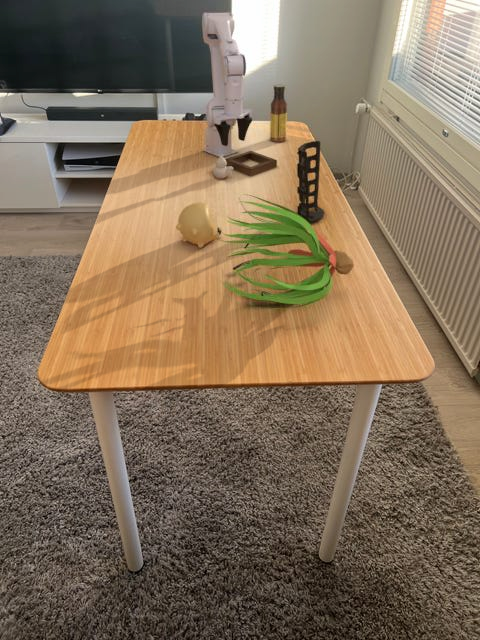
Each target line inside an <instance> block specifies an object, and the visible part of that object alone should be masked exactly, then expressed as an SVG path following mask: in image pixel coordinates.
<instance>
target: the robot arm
mask: <svg viewBox="0 0 480 640" xmlns="http://www.w3.org/2000/svg"><path fill="white" fill-rule="evenodd" d="M201 16H202V17H201V26H202V27H201V28H202V39H203V43H205V44H206V45H208V47H209V48H208V49H209V51H210V52H209V53H210V62H211V64H210V65H211V77H212V90H213V91H212V93H213V98H211V100H210V101H208V103H207V104H206V113H205V114H206V116H205V117H206V125H207V127H206V129H205V133H204V136H205V137H204V139H205V142H204V143H205V144H204V145H205V148H204V149H203V151H204V152H206V153H207V154H210V155H213V156H216V157H218V158H219V157H220V154H221V156H223V157H224V158H225V157H226V156H230V155H233V154H236V153H237V150H234V149H232V130H233V128H234V127H235V126H236V124H237V136H238V140H239V141H241V142H245V139H246V136H247V134H248V133H247V132H248V130H249V127H250V125H251V124H252V122H253V118H252V115H253V109H251V108H244V77H245V76H246V72H247V62H246V56H245V54H243V53H241V52H240V49H239V46H238V43H237V41H236V40H235V39H234V38H233V36H234V35H233V34H234V31H235V16H234V14H233V12H232V11H229V12H207V11H206V12H203V14H202V15H201Z"/></svg>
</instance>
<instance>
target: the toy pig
mask: <svg viewBox="0 0 480 640" xmlns="http://www.w3.org/2000/svg"><path fill="white" fill-rule="evenodd" d="M177 222H178V223H177V224H176V225H175V228H176V230H177V231H179V232H180V234H181V236H182V238H181V239H182V241H183V242H185V243H186V242H189V243H190V244H193V245H197V248H199V249H202V248H203V247H204V246H205V245H206V244H208V243H210V242H213V241H216V240H217V239H219V238H220V236H221V234H222V232H221V231H222V229H221V228H220V227H219V226H218V225H219V224H218V223H217V221H216V218H215V216H214V213H213V211H212V209H211V207H210V206H209V205H208V204H207V203H205V202H194V203H190V204H188V205H187V206H185V207H184V208H183V209H182V210H181V212H180V213H179V217H178V221H177ZM217 236H218V237H217Z"/></svg>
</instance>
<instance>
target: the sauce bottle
mask: <svg viewBox="0 0 480 640" xmlns="http://www.w3.org/2000/svg"><path fill="white" fill-rule="evenodd" d="M285 90H286V86H285V85H284V84H282V83H281V84H279V83H278V84H274V85H273V99H272V101H271V103H270V120H269V121H270V122H269V123H270V124H269V126H270V129H269V137H270V140H271V141H272V142H276V143H283V142H285V141H286V139H287V127H288V126H287V124H288V104H287V101H286V98H285Z"/></svg>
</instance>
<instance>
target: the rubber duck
mask: <svg viewBox="0 0 480 640" xmlns="http://www.w3.org/2000/svg"><path fill="white" fill-rule="evenodd" d="M225 159H226V158H225V156H224V157H223V156H221V154H220V157H218V158H217V160H216V161H215V167H214V168H213V169H212V173H213V176H214V177H216V178H217V179H221V180H222V179H223V180H224V179H225V178H227V177H228V176H231V175H233V171H234V170H233V167H232V166H228V167H227V166H226V165H227V162H226V160H225Z"/></svg>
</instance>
